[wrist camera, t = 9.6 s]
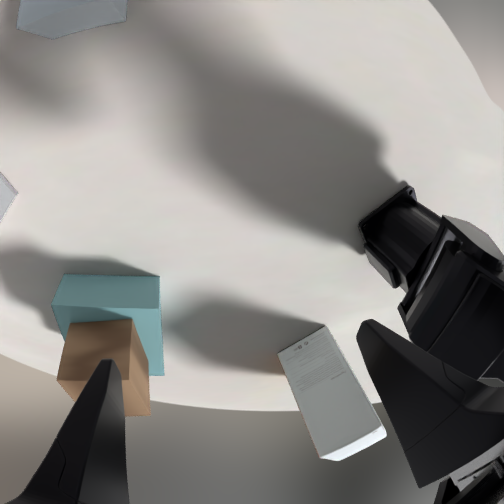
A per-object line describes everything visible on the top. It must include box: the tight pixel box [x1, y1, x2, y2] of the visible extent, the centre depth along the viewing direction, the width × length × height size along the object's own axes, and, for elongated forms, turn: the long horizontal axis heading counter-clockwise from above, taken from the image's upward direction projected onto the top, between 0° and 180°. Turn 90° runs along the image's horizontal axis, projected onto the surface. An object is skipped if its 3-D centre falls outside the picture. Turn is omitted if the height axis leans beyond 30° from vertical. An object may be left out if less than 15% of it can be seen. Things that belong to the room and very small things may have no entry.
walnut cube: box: [57, 319, 151, 416], centre depth 16 cm, size 5×5×5 cm
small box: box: [277, 326, 386, 461], centre depth 26 cm, size 8×6×13 cm
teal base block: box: [51, 274, 164, 376], centre depth 20 cm, size 8×8×4 cm
